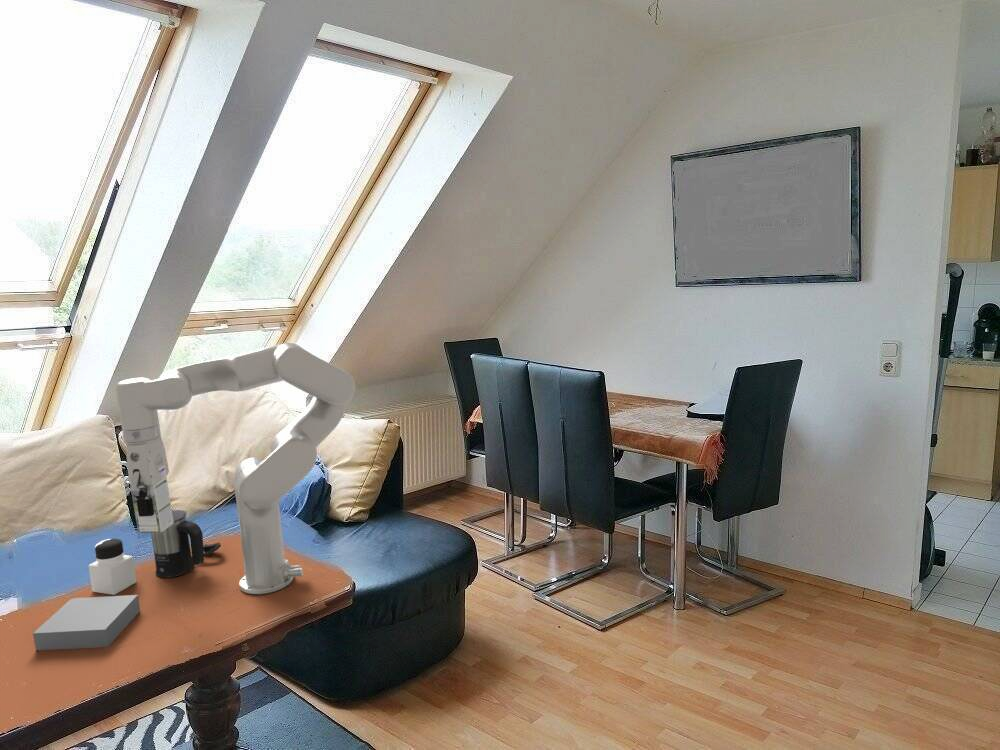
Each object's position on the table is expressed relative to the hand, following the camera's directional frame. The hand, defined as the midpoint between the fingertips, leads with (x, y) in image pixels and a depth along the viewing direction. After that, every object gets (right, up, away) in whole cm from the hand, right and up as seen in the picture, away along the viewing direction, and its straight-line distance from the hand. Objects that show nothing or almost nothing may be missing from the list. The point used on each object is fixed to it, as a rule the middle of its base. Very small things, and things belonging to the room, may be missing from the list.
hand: (153, 509), depth 167 cm
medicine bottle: (-17, -22, +15) cm, 31 cm away
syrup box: (0, -5, +1) cm, 5 cm away
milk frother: (-3, -19, +26) cm, 33 cm away
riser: (-11, -26, -5) cm, 29 cm away
